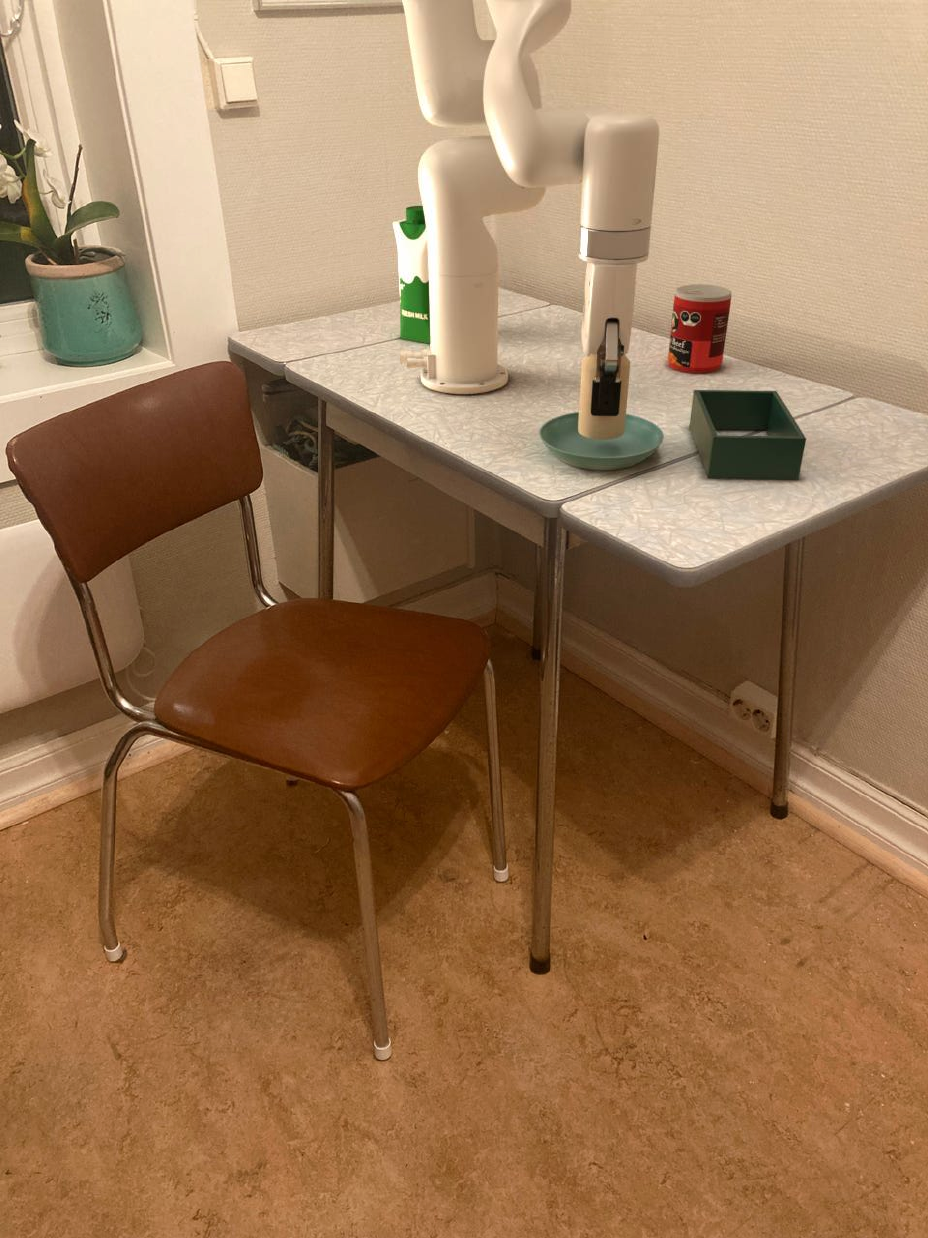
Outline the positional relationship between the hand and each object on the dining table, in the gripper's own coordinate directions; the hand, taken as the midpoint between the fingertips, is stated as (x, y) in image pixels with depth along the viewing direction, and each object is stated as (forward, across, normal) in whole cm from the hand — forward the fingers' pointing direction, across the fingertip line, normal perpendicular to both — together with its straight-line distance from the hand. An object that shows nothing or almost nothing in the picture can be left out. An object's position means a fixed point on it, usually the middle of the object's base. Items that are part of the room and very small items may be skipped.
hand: (602, 403), depth 113 cm
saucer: (+6, 0, 0) cm, 6 cm away
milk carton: (+6, -48, -25) cm, 54 cm away
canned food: (+6, -34, +16) cm, 38 cm away
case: (+6, -1, +17) cm, 18 cm away
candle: (+4, 0, 0) cm, 4 cm away
